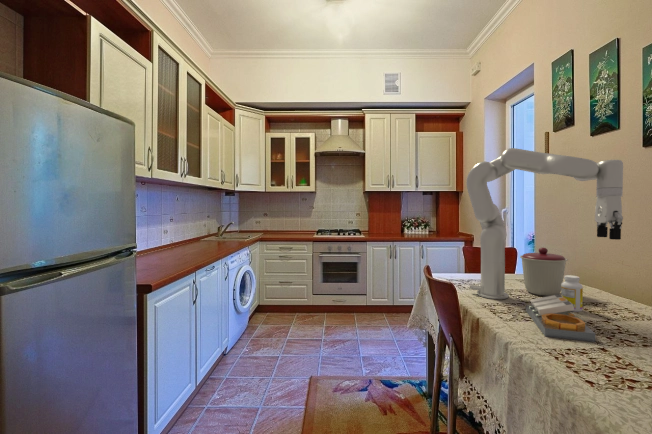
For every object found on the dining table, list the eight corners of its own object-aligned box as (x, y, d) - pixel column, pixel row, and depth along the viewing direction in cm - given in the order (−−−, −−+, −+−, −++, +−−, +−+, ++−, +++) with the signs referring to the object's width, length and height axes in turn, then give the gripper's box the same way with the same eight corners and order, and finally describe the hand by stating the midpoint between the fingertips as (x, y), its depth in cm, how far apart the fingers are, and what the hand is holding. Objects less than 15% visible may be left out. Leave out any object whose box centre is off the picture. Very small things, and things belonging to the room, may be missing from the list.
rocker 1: (533, 307, 121) (531, 301, 121) (531, 304, 124) (529, 299, 124) (564, 301, 118) (562, 295, 118) (561, 299, 121) (559, 293, 121)
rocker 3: (540, 315, 112) (538, 309, 112) (538, 312, 115) (536, 306, 115) (574, 309, 108) (572, 303, 109) (571, 307, 111) (569, 301, 111)
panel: (545, 336, 100) (545, 323, 100) (526, 311, 125) (526, 300, 125) (595, 342, 96) (595, 328, 96) (565, 314, 120) (565, 303, 120)
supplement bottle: (575, 307, 129) (575, 274, 129) (586, 312, 123) (587, 278, 122) (557, 306, 130) (557, 274, 130) (567, 312, 123) (568, 278, 123)
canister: (573, 300, 139) (574, 250, 138) (524, 296, 145) (524, 249, 144) (559, 290, 156) (560, 246, 155) (516, 287, 162) (516, 244, 161)
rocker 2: (537, 311, 116) (535, 305, 117) (534, 308, 119) (533, 302, 119) (569, 305, 113) (567, 299, 113) (566, 303, 116) (564, 297, 116)
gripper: (587, 194, 133) (586, 236, 134) (608, 192, 117) (607, 240, 117) (609, 193, 131) (608, 236, 131) (634, 191, 115) (633, 240, 115)
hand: (608, 238), depth 124 cm, fingers open, 9 cm apart
